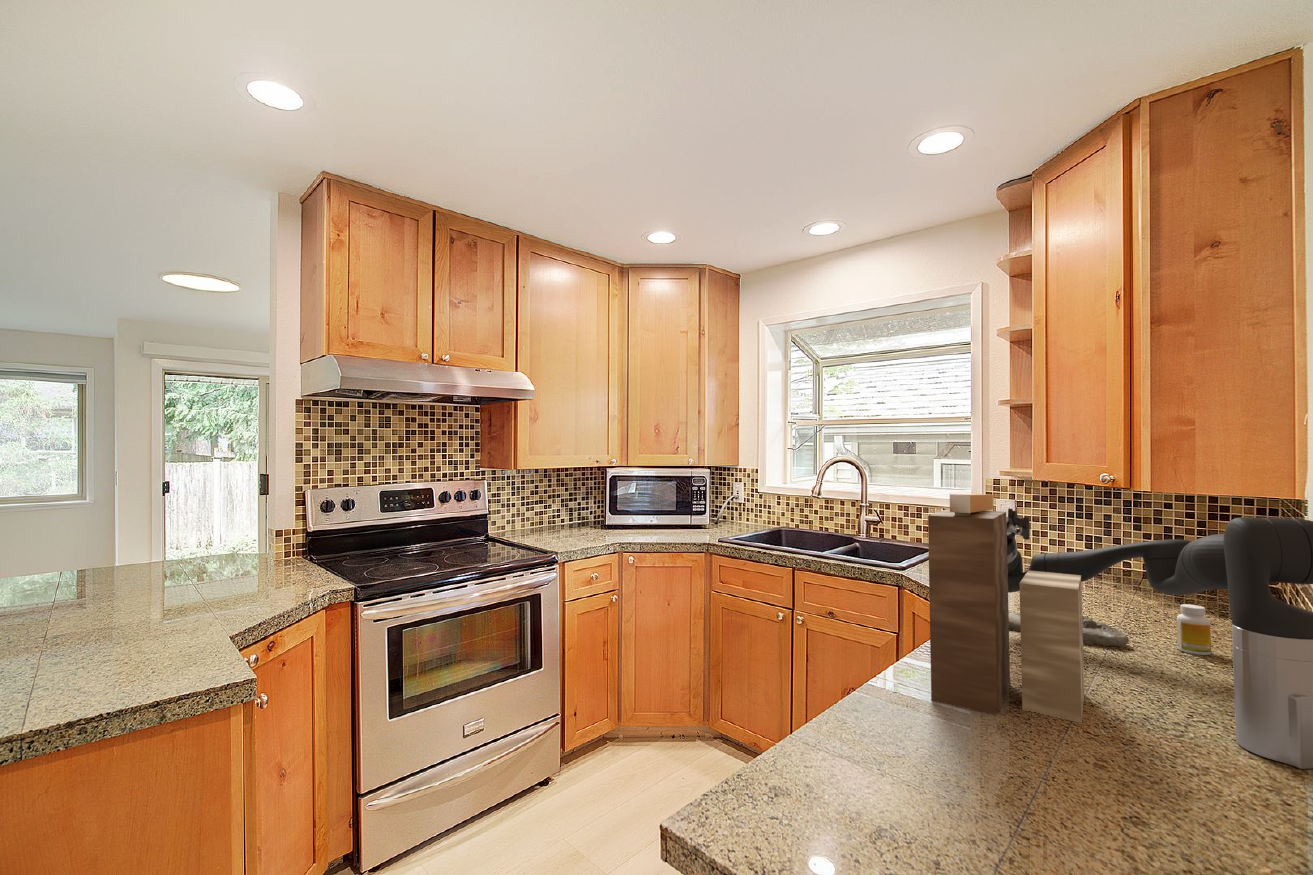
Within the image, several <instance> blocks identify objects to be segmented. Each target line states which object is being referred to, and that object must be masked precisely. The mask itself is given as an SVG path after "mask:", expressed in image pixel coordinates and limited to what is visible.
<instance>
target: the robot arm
mask: <svg viewBox="0 0 1313 875" xmlns="http://www.w3.org/2000/svg"><path fill="white" fill-rule="evenodd" d="M1007 509H1008V510H1007V516H1006V521H1007V565H1008V594H1009V593H1016V592H1020V585H1019V583H1020V582H1021V580H1022V579H1023V577H1024V576H1025V574H1026V573H1027V572H1028V570H1030V571H1040V572H1050V573H1061V574H1071V575H1081V583H1083V582H1087V581H1088V580H1091V579H1092V578H1095V577H1096V576H1097V575H1100V574H1102V573H1103V572H1104V571H1106V570H1108V569H1109V568H1111V567H1113V566H1115V565H1117V564H1119V563H1121V562H1124V561H1127V560H1130V559H1135V558H1136V559H1137V558H1142V559H1143V564H1144V569H1145V574H1146V577H1147V581H1148V583H1149V585H1150V587H1151V588H1152V589H1153V591H1154V590H1155V591H1157V592H1158V593H1162V594H1165V595H1173V596H1184V595H1193V594H1198V593H1203V592H1206V591H1215V590H1217V591H1219V590H1220V591H1223V590H1224V591H1225V590H1227V594H1228V603H1229V608H1230V613H1231V614H1230V615H1231V637H1232V638H1231V640H1232V643H1231V644H1232V665H1233V666H1232V667H1233V668H1232V669H1233V670H1232V672H1233V695H1234V696H1233V697H1234V698H1233V699H1234V721H1235V722H1234V723H1235V725H1234V726H1235V741H1236V743H1237V744H1238V745H1239V746H1240V747H1242V748H1243V749H1245V750H1247V751H1249V752H1251V753H1253V754H1255V755H1257V756H1260V757H1263V758H1267V759H1270V760H1273V761H1276V762H1280V763H1284V764H1287V765H1291V766H1293V767H1296V768H1298V769H1303V770H1305V769H1313V611H1312V610H1308V609H1305V608H1303V607H1299V606H1296V605H1293V604H1290V603H1287V602H1285V601H1283V600H1280V599H1279V598H1278V597H1276V596H1274V595H1273V594H1272V591H1271V588H1270V584H1272V583H1275V584H1276V583H1277V584H1278V583H1279V584H1294V585H1313V520H1309V519H1304V518H1287V517H1286V518H1285V517H1283V518H1282V517H1256V516H1255V517H1251V516H1250V517H1247V516H1245V517H1242V516H1241V517H1235V518H1233V519H1231V520H1230V521H1229V522H1228V523H1227V525H1226V527H1225V529H1224V533H1217V534H1210V535H1207V536H1203V537H1200V538H1196V539H1194V540H1188V539H1178V538H1177V539H1174V538H1173V539H1171V538H1170V539H1169V538H1168V539H1158V540H1157V539H1156V540H1149V541H1141V542H1134V543H1127V544H1118V545H1113V546H1104V547H1098V548H1094V549H1093V548H1092V549H1086V550H1079V551H1067V552H1049V553H1036V554H1034V555H1033V556H1032V557H1031V561H1030V564H1029V567H1028V569H1026V570H1025V571H1024V569H1023V568H1024V567H1023V566H1024V565H1023V564H1024V563H1023V557H1022V554H1021V552H1020V551H1018V542H1017V540H1016V536H1020V537H1022V539H1023V540H1030V537H1031V524H1030V517H1028V516H1027V517H1026V516H1024V517H1021V518H1020V516H1019V515H1018V512H1017V511H1016V510H1013V508H1012V507H1011V508H1010V507H1009V508H1007Z"/></svg>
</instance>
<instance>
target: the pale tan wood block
mask: <svg viewBox="0 0 1313 875" xmlns="http://www.w3.org/2000/svg"><path fill="white" fill-rule="evenodd" d="M949 509H950V512H958V513H972V512H979V511H994V494H988V493H987V494H986V493H985V494H984V493H983V494H981V493H974V494H973V493H970V494H969V493H967V494H966V493H964V494H963V493H960V494H959V493H958V494H957V493H956V494H951V493H950V494H949Z"/></svg>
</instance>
